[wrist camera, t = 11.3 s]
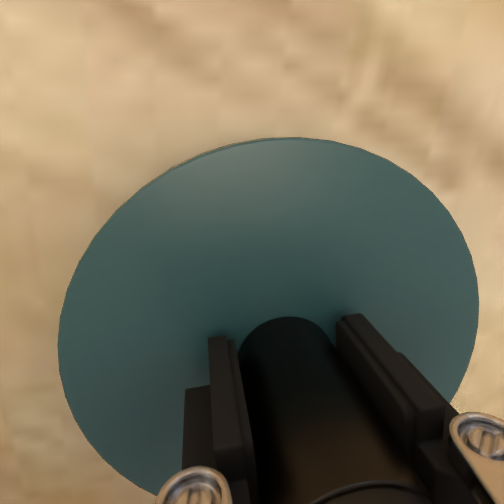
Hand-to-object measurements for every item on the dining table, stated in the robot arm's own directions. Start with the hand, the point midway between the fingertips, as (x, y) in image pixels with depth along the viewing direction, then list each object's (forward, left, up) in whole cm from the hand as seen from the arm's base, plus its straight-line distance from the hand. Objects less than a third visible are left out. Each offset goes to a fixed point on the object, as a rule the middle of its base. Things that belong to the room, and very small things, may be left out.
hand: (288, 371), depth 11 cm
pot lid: (0, 0, -1) cm, 1 cm away
